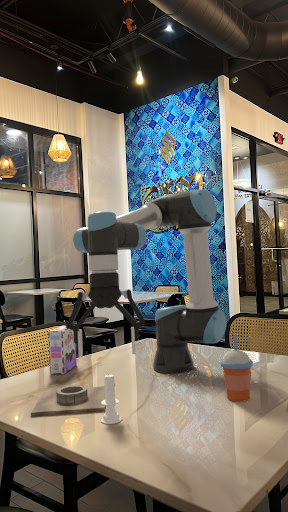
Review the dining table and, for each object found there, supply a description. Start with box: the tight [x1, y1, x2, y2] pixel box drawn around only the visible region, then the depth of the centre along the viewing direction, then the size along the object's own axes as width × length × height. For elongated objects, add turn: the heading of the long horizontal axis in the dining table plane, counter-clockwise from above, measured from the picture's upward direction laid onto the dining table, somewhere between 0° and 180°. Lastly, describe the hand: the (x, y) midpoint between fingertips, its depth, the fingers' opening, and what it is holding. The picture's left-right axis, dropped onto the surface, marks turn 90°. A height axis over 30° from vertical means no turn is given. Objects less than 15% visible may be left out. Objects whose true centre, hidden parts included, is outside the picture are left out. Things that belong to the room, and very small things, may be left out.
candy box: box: [47, 325, 78, 375], centre depth 162 cm, size 14×6×16 cm, turn 168°
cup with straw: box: [220, 334, 254, 403], centre depth 119 cm, size 9×9×18 cm
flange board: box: [30, 384, 106, 417], centre depth 123 cm, size 20×20×4 cm
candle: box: [100, 373, 123, 425], centre depth 107 cm, size 5×5×12 cm
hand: (107, 354), depth 107 cm, fingers open, 13 cm apart
